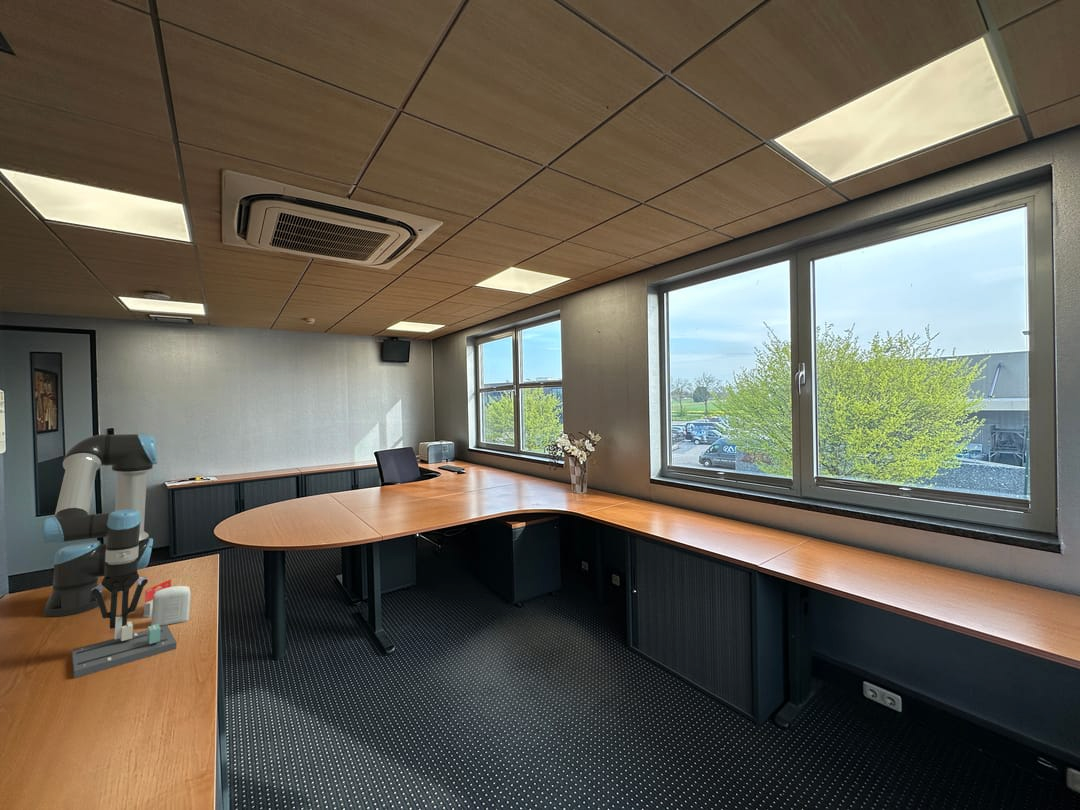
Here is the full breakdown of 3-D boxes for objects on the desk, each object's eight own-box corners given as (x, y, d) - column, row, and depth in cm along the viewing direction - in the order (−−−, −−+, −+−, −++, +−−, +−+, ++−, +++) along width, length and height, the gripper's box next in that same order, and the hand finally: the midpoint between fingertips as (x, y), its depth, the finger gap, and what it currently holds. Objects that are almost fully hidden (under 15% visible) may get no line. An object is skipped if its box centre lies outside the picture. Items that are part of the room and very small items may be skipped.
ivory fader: (119, 638, 138) (120, 623, 138) (130, 635, 140) (131, 620, 140) (121, 642, 136) (122, 627, 136) (132, 640, 137) (132, 625, 138)
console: (71, 656, 132) (72, 648, 132) (166, 630, 148) (167, 624, 148) (74, 678, 121) (74, 670, 121) (176, 648, 138) (176, 641, 138)
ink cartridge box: (175, 604, 168) (177, 579, 168) (149, 618, 157) (151, 590, 157) (169, 604, 168) (170, 578, 168) (142, 617, 157) (144, 590, 157)
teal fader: (147, 641, 137) (147, 626, 137) (157, 638, 139) (158, 623, 139) (149, 645, 134) (150, 630, 135) (159, 642, 136) (160, 627, 136)
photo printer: (189, 616, 159) (191, 582, 159) (188, 621, 155) (190, 586, 156) (152, 623, 153) (154, 587, 153) (150, 628, 150) (152, 592, 150)
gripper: (93, 568, 130) (88, 649, 129) (151, 559, 139) (147, 634, 139) (91, 562, 135) (86, 640, 134) (147, 553, 144) (143, 626, 144)
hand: (117, 637), depth 136 cm, fingers closed
